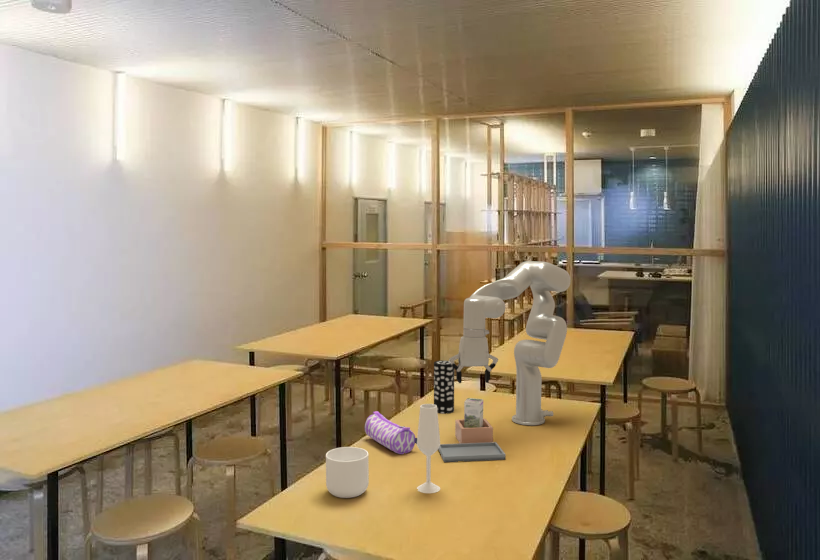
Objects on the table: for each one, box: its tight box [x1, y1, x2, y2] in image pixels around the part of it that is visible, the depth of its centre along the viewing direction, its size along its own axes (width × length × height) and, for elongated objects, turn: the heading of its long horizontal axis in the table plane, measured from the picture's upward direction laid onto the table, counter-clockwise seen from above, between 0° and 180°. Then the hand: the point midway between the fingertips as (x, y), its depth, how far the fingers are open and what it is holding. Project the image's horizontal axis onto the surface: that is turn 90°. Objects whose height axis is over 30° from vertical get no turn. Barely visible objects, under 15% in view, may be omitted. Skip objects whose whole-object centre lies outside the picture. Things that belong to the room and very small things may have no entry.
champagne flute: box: [416, 403, 441, 494], centre depth 182 cm, size 7×7×24 cm
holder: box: [454, 418, 494, 444], centre depth 225 cm, size 11×11×6 cm
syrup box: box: [463, 397, 484, 428], centre depth 225 cm, size 6×6×14 cm
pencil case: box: [364, 410, 417, 455], centre depth 219 cm, size 22×9×10 cm, turn 35°
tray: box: [437, 441, 507, 463], centre depth 211 cm, size 20×12×2 cm, turn 97°
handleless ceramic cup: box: [325, 446, 370, 499], centre depth 180 cm, size 12×12×11 cm
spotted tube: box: [433, 360, 455, 415], centre depth 262 cm, size 8×8×20 cm
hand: (473, 382), depth 223 cm, fingers open, 9 cm apart
